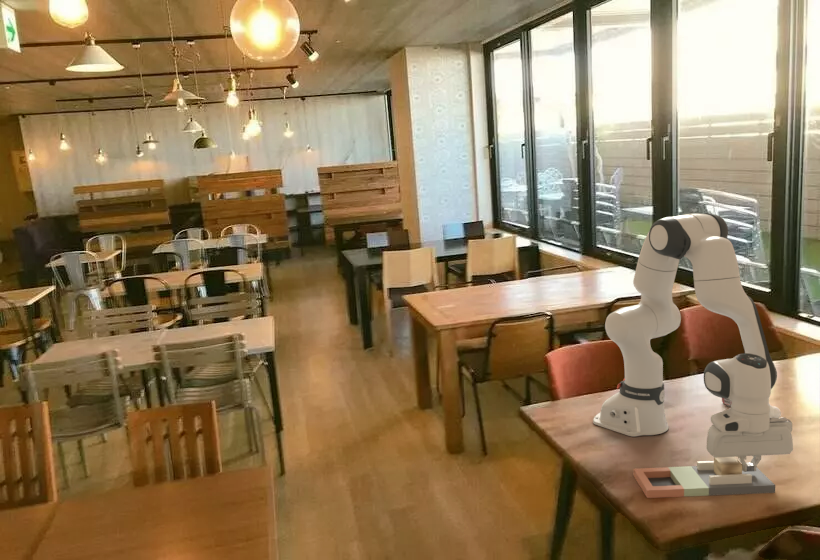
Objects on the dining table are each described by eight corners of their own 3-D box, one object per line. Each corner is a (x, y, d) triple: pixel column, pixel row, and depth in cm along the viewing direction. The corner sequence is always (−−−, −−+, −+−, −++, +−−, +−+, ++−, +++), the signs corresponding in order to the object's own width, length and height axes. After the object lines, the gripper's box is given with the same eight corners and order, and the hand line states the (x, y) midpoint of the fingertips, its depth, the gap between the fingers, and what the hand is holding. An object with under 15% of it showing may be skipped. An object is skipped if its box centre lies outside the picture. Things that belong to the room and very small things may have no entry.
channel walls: (736, 466, 177) (736, 459, 177) (751, 483, 168) (751, 475, 168) (697, 468, 177) (697, 461, 177) (710, 484, 169) (710, 477, 168)
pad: (690, 473, 179) (691, 466, 179) (708, 495, 167) (708, 487, 167) (667, 474, 180) (667, 467, 179) (684, 496, 168) (684, 488, 167)
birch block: (733, 470, 175) (733, 456, 174) (742, 479, 170) (742, 464, 169) (713, 471, 175) (713, 456, 175) (721, 480, 170) (721, 465, 170)
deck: (752, 470, 178) (753, 463, 178) (775, 492, 167) (775, 485, 166) (633, 475, 180) (633, 468, 180) (647, 497, 168) (647, 490, 168)
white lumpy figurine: (740, 394, 208) (773, 392, 211) (737, 421, 210) (770, 419, 212) (755, 401, 202) (789, 399, 205) (751, 428, 204) (785, 426, 206)
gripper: (786, 412, 173) (784, 463, 175) (704, 416, 173) (703, 466, 176) (799, 421, 166) (797, 474, 169) (714, 425, 167) (713, 478, 170)
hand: (748, 470), depth 172 cm, fingers closed
